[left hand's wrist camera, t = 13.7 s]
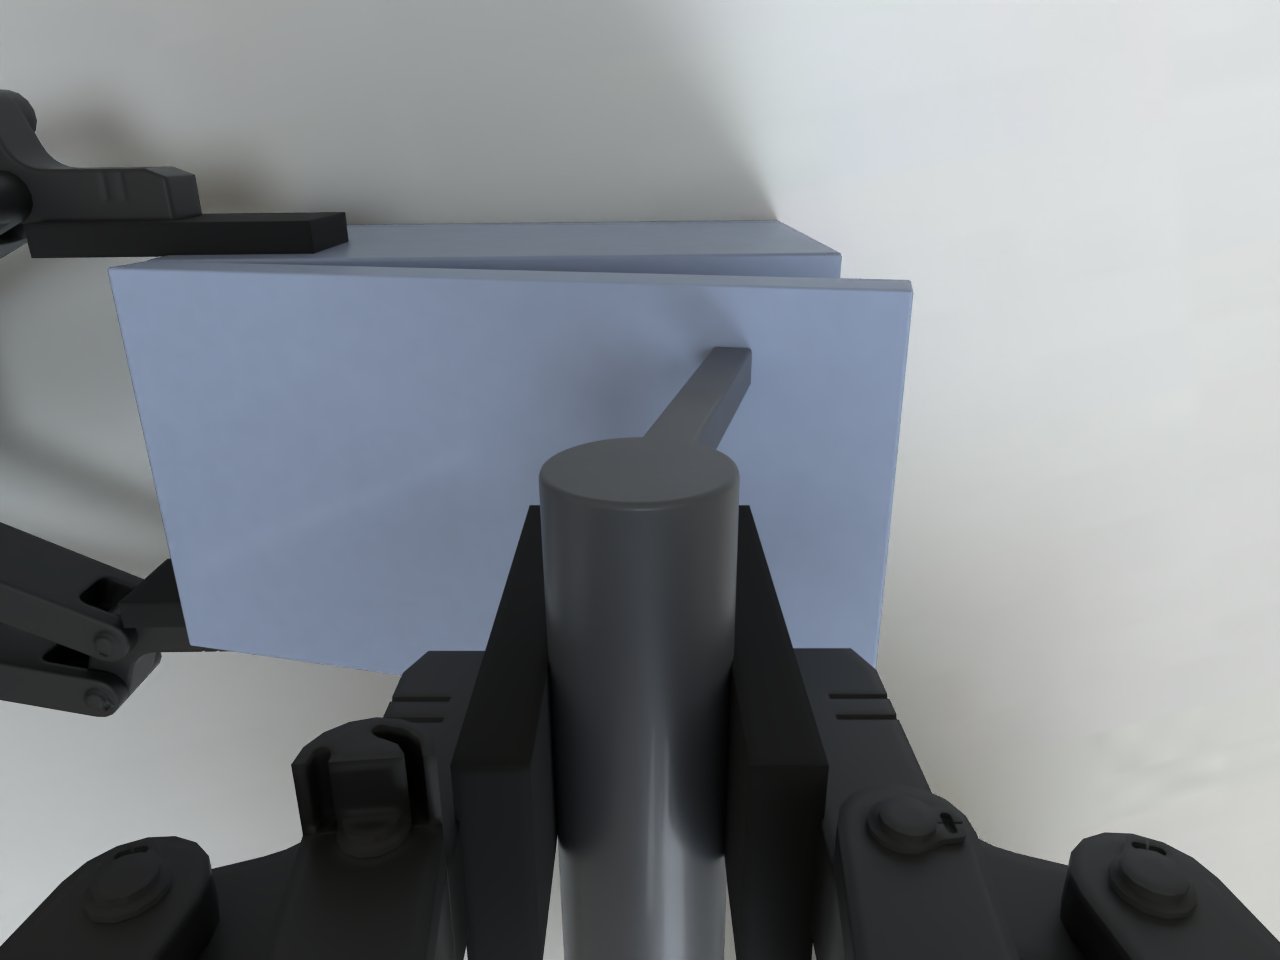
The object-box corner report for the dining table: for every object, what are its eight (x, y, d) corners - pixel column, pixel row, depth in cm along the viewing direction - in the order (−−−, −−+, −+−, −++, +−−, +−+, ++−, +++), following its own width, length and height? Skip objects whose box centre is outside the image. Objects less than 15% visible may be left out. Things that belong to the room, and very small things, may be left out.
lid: (911, 279, 16) (947, 432, 8) (869, 708, 19) (861, 1144, 11) (148, 260, 19) (-384, 348, 11) (222, 621, 23) (-151, 894, 14)
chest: (779, 220, 28) (842, 252, 20) (767, 487, 31) (817, 612, 23) (288, 225, 28) (143, 260, 20) (327, 493, 31) (217, 620, 23)
